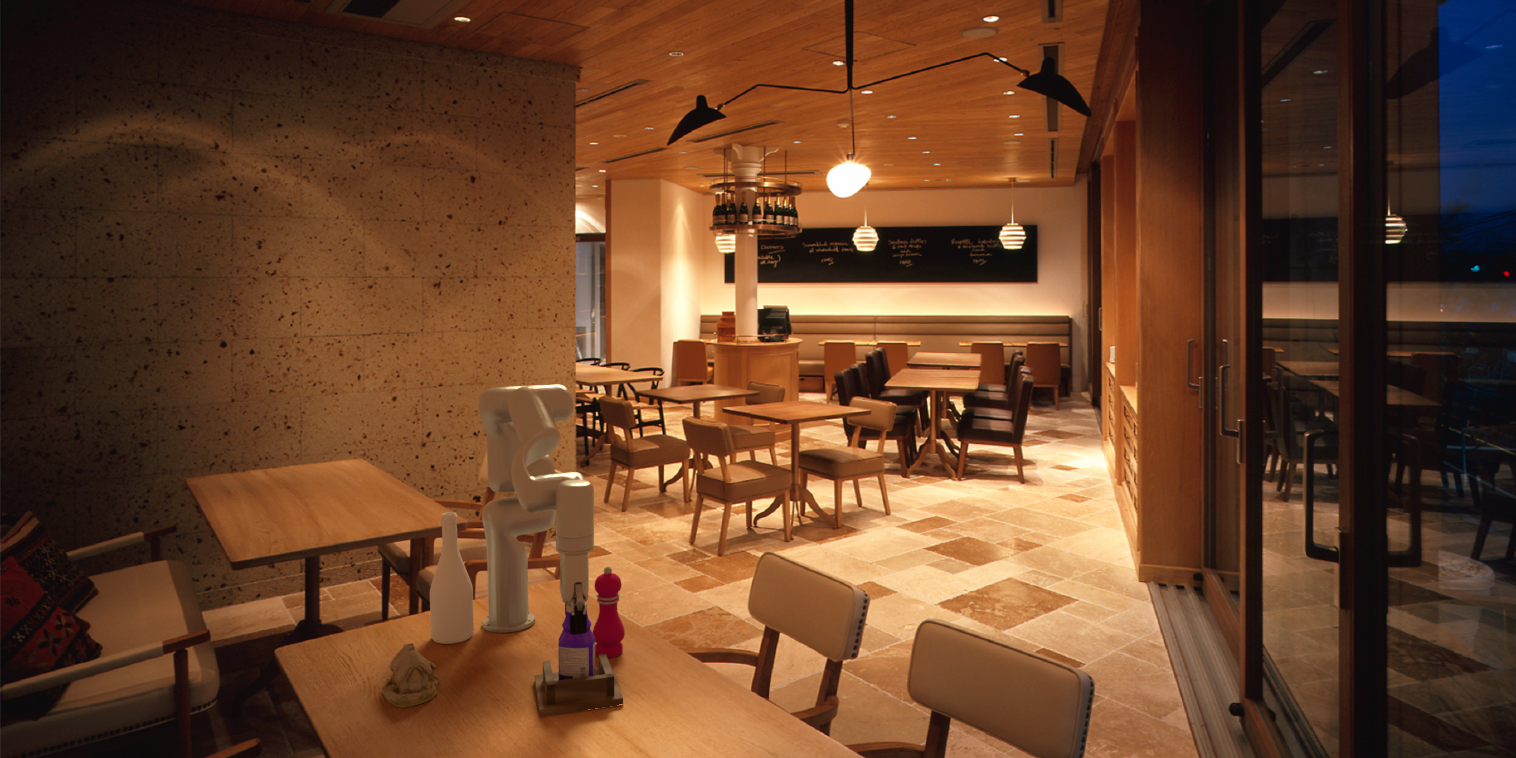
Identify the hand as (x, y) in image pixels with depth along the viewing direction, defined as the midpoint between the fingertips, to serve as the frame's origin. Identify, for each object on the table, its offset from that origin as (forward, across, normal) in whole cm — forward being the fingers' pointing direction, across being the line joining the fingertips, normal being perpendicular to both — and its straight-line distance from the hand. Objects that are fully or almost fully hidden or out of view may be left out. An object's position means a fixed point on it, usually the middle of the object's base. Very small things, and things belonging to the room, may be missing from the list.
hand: (575, 624), depth 173 cm
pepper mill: (+15, -18, +9) cm, 25 cm away
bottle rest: (+14, +1, 0) cm, 14 cm away
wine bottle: (+16, -38, -25) cm, 48 cm away
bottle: (+13, +1, 0) cm, 13 cm away
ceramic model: (+15, -10, -32) cm, 37 cm away
